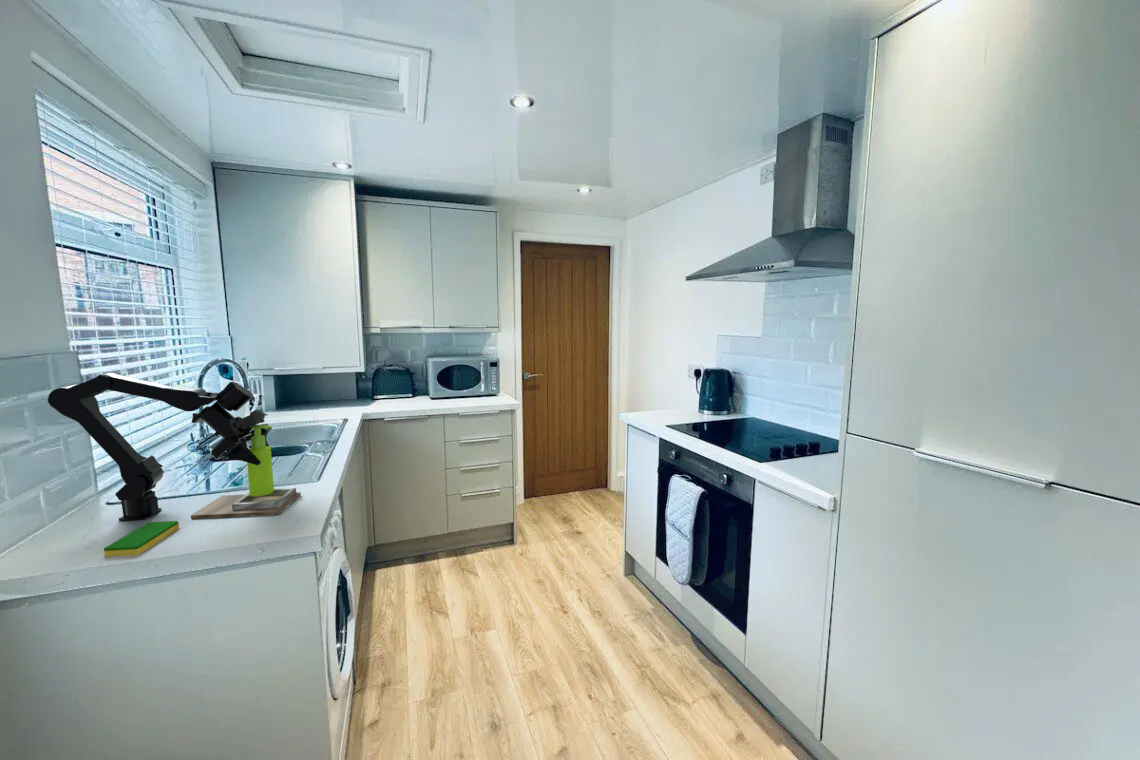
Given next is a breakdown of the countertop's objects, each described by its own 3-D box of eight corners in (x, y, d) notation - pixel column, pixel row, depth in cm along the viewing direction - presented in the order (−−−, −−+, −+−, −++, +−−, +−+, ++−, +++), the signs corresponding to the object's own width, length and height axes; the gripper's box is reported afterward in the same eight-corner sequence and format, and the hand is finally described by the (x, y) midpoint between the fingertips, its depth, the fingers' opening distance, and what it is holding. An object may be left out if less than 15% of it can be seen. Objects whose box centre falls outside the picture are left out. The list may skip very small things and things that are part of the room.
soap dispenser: (267, 497, 130) (262, 428, 127) (244, 496, 130) (239, 427, 128) (282, 489, 136) (277, 423, 133) (259, 488, 136) (255, 422, 134)
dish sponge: (103, 558, 105) (102, 548, 104) (149, 530, 118) (148, 521, 118) (138, 556, 106) (137, 546, 105) (180, 529, 119) (179, 520, 119)
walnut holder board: (191, 518, 124) (189, 509, 124) (222, 498, 138) (221, 490, 138) (278, 514, 127) (277, 505, 127) (300, 495, 141) (300, 487, 140)
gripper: (218, 409, 120) (265, 450, 122) (262, 397, 139) (302, 433, 141) (190, 439, 121) (237, 479, 123) (238, 422, 139) (278, 457, 141)
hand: (266, 460), depth 132 cm, fingers closed on soap dispenser, 6 cm apart
